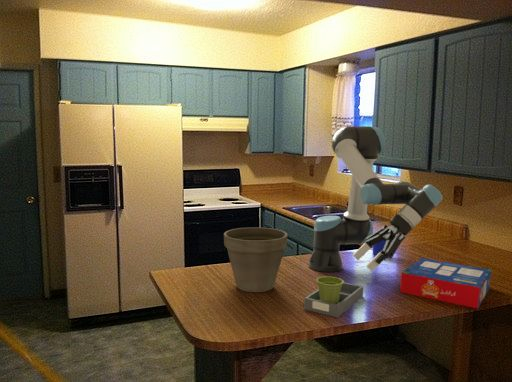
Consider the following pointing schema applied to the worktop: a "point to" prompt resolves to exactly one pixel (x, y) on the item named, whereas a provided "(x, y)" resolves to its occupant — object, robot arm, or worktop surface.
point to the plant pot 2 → (329, 289)
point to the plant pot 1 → (255, 256)
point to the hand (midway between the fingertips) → (361, 263)
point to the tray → (346, 300)
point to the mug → (378, 247)
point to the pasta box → (446, 282)
